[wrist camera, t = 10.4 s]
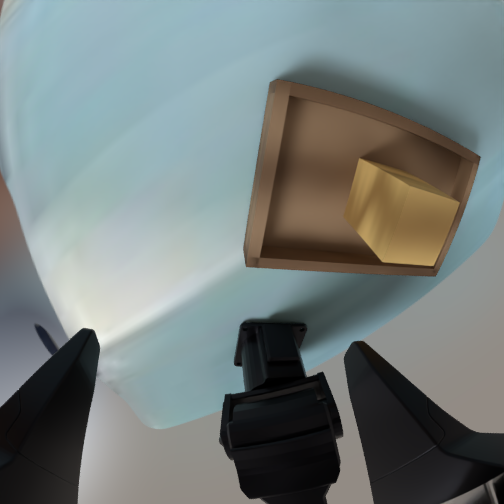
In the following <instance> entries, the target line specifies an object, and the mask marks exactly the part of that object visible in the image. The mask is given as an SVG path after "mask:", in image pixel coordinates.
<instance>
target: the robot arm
mask: <svg viewBox="0 0 504 504" xmlns="http://www.w3.org/2000/svg"><path fill="white" fill-rule="evenodd" d="M301 328H302V329H301ZM306 331H307V326H306V324H282V323H243V324H241V325H240V329H239V334H238V340H237V346H236V352H235V357H234V365H235V366H240V367H242V368H243V377H244V387H245V392H242V393H236V394H225V399H224V402H223V410H222V420H221V429H220V438H219V442H220V444H221V445H222V446H223V447H224V449H225V452H226V454H227V456H228V457H229V459H230V460H234V463H235V466H236V469H237V474H238V478H239V483H240V488H241V490H242V491H243V493H244V494H245V495H246V496H247V497H248V498H249V499H257V498H260V499H261V500H262V501H264V502H265V503H266V504H327V500H326V494H327V492H328V490H329V488H330V486H331V484H333V483H336V481H337V479H338V476H339V473H340V467H339V466H340V456H339V452H338V447H337V443H336V439H338V438H341V437H343V429H342V424H341V419H340V416H339V412H338V409H337V406H336V403H335V400H334V398H333V395H332V393H331V390H330V388H329V385H328V383H327V380H326V377H325V375H324V373H323V372H320V373H317V375H313V376H310V377H307V375H306V372H305V368H304V365H303V361H302V358H301V354H300V351H299V348H300V346H301V343H302V341H303V339H304V336H305V334H306ZM99 353H100V345H99V342H98V339H97V336H96V333H95V331H94V330H93V329H88V328H83V329H81V330H80V331H79V332H78V333H76V334H75V335H74V336H73V337H72V338H71V339H70V340H69V341H68V342H67V343H66V344H65V345H64V346H62V347H61V348H60V349H59V350H58V351H57V352H56V353H55V354H54V355H53V356H52V357H51V358H50V359H49V360H48V361H47V362H45V363H44V365H42V366H41V367H40V368H39V369H38V370H37V371H36V372H35V373H34V374H33V375H32V376H31V377H30V378H29V379H28V380H27V381H26V382H25V383H24V384H23V385H22V386H21V387H20V388H19V390H17V391H16V392H15V393H14V395H12V397H10V398H9V399H8V400H7V401H6V402H5V403H4V404H3V405H2V406H1V407H0V504H77V503H78V486H79V476H80V467H81V459H82V451H83V445H84V439H85V433H86V427H87V422H88V417H89V412H90V407H91V402H92V398H93V394H94V388H95V381H96V373H97V366H98V360H99ZM344 364H345V370H346V377H347V383H348V389H349V395H350V399H351V403H352V407H353V411H354V415H355V418H356V422H357V426H358V431H359V435H360V439H361V443H362V447H363V452H364V456H365V461H366V465H367V470H368V475H369V480H370V485H371V490H372V496H373V501H374V504H504V433H479V432H475V431H473V430H470V429H469V428H467V427H466V426H464V425H463V424H462V423H460V422H459V421H457V420H456V419H455V418H453V417H452V416H451V415H449V414H448V413H446V412H445V411H444V410H442V409H441V408H440V407H439V406H438V405H437V404H435V403H434V402H433V401H432V400H431V399H430V398H428V397H427V396H426V395H425V394H424V393H423V392H422V391H420V390H419V389H418V388H417V387H416V386H415V385H414V384H412V383H411V382H410V381H409V380H408V379H407V378H405V377H404V376H403V375H402V374H401V373H400V372H399V371H397V370H396V369H395V368H394V367H393V366H392V365H391V364H389V363H388V362H387V361H386V360H385V359H384V358H383V357H381V356H380V355H379V354H378V353H377V352H376V351H374V350H373V349H372V348H371V347H370V346H369V345H367V344H366V343H365V342H364V341H354V342H352V344H351V345H350V347H349V349H348V350H347V352H346V354H345V356H344Z"/></svg>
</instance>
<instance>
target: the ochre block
mask: <svg viewBox="0 0 504 504" xmlns="http://www.w3.org/2000/svg"><path fill="white" fill-rule="evenodd" d="M459 203H460V202H458V201H457V200H455V199H453V198H452V197H450V196H449V195H447V194H445V193H444V192H442V191H440V190H439V189H437V188H435V187H434V186H432V185H430V184H428V183H427V182H425V181H423V180H421V179H419V178H418V177H416V176H414V175H412V174H410V173H408V172H406V171H403V170H400V169H396V168H393V167H390V166H387V165H383V164H380V163H376V162H373V161H369V160H365V159H361V158H359V161H358V165H357V169H356V173H355V176H354V180H353V184H352V188H351V191H350V195H349V198H348V202H347V205H346V209H345V212H344V215H343V217H344V218H345V220H346V221H347V222H348V223H349V224H350V225H351V226H352V227H353V228H354V230H355V231H356V232H357V233H358V234H359V235H360V236H361V237H362V239H363V240H364V241H365V242H366V243H367V244H368V246H369V247H370V248H371V249H372V250H373V251H374V253H375V254H376V255H377V256H378V257H379V259H380V260H381V261H382V262H387V263H400V264H413V265H425V266H434V264H435V262H436V260H437V257H438V255H439V253H440V251H441V249H442V246H443V244H444V242H445V239H446V237H447V235H448V232H449V230H450V227H451V225H452V222H453V220H454V217H455V214H456V212H457V209H458V206H459Z"/></svg>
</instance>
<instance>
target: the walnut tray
mask: <svg viewBox="0 0 504 504" xmlns="http://www.w3.org/2000/svg"><path fill="white" fill-rule="evenodd" d="M359 158H361V159H365V160H369V161H373V162H376V163H380V164H383V165H387V166H390V167H393V168H396V169H400V170H403V171H406V172H408V173H410V174H412V175H414V176H416V177H418V178H419V179H421V180H423V181H425V182H427V183H428V184H430V185H432V186H434V187H435V188H437V189H439V190H440V191H442V192H444V193H445V194H447V195H449V196H450V197H452V198H453V199H455V200H457V201H458V202H460V203H459V206H458V209H457V212H456V214H455V217H454V220H453V222H452V225H451V227H450V230H449V232H448V235H447V237H446V239H445V242H444V244H443V246H442V249H441V251H440V253H439V255H438V257H437V260H436V262H435V264H434V266H425V265H413V264H400V263H387V262H382V261H381V260H380V259H379V257H378V256H377V255H376V254H375V253H374V251H373V250H372V249H371V248H370V247H369V246H368V244H367V243H366V242H365V241H364V240H363V239H362V237H361V236H360V235H359V234H358V233H357V232H356V231H355V230H354V228H353V227H352V226H351V225H350V224H349V223H348V222H347V221H346V220H345V218H344V217H343V215H344V212H345V209H346V205H347V202H348V198H349V195H350V191H351V188H352V184H353V180H354V176H355V173H356V169H357V165H358V161H359ZM479 161H480V156H478V155H477V154H475V153H474V152H472V151H470V150H469V149H467V148H465V147H463V146H462V145H460V144H458V143H456V142H454V141H453V140H451V139H449V138H447V137H445V136H443V135H441V134H439V133H437V132H435V131H433V130H431V129H429V128H427V127H425V126H423V125H421V124H418V123H416V122H414V121H412V120H410V119H407V118H405V117H402V116H400V115H398V114H395V113H393V112H390V111H388V110H385V109H382V108H380V107H377V106H374V105H372V104H369V103H366V102H363V101H360V100H357V99H354V98H351V97H347V96H344V95H341V94H337V93H334V92H330V91H327V90H323V89H319V88H315V87H311V86H307V85H303V84H298V83H294V82H289V81H284V80H279V79H277V80H274V81H272V82H270V85H269V91H268V97H267V103H266V109H265V115H264V121H263V127H262V133H261V139H260V145H259V151H258V158H257V164H256V170H255V176H254V183H253V189H252V195H251V202H250V208H249V215H248V221H247V228H246V234H245V241H244V247H243V250H244V257H245V264H246V267H255V268H271V269H287V270H305V271H323V272H342V273H362V274H385V275H409V276H436V275H437V273H438V271H439V269H440V267H441V265H442V263H443V260H444V258H445V256H446V254H447V252H448V250H449V247H450V245H451V243H452V240H453V238H454V236H455V233H456V231H457V228H458V226H459V223H460V221H461V218H462V215H463V213H464V210H465V207H466V204H467V201H468V198H469V195H470V192H471V189H472V186H473V183H474V179H475V176H476V173H477V169H478V165H479Z"/></svg>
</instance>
